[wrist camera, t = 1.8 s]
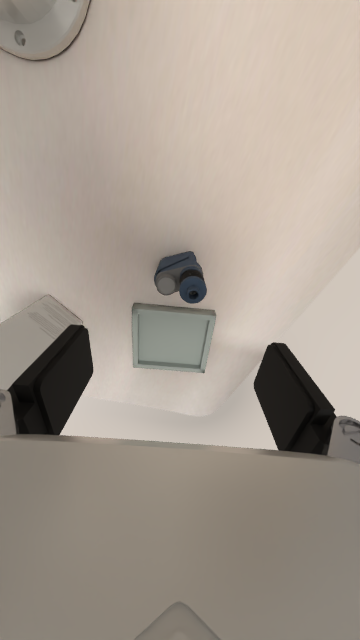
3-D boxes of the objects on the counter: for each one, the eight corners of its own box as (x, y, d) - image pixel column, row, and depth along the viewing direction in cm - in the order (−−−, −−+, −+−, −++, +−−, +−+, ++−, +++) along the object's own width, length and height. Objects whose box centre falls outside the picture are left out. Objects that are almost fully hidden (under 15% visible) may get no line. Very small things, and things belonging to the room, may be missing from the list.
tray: (134, 303, 30) (131, 308, 29) (214, 310, 31) (216, 316, 29) (135, 360, 35) (133, 367, 34) (203, 365, 36) (204, 373, 34)
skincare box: (54, 348, 34) (-29, 441, 21) (18, 322, 32) (-104, 408, 18) (85, 320, 32) (12, 406, 18) (47, 289, 29) (-70, 362, 16)
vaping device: (200, 267, 27) (211, 306, 17) (162, 276, 28) (151, 318, 18) (196, 248, 26) (206, 277, 16) (157, 258, 27) (141, 291, 16)
